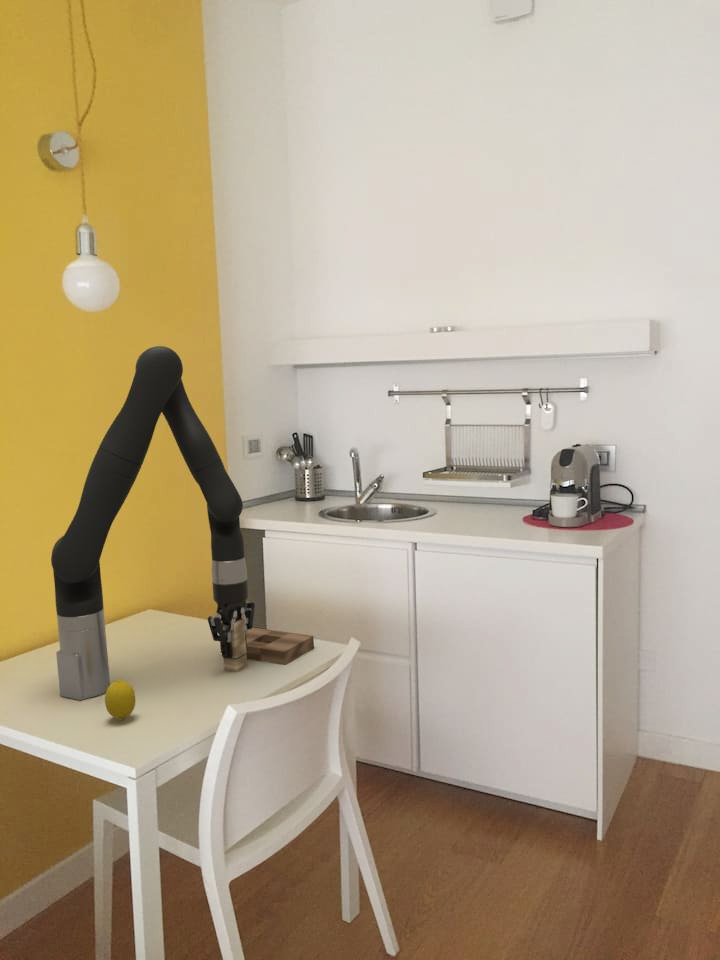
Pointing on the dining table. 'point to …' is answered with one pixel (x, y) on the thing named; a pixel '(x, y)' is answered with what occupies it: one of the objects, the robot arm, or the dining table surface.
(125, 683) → the lemon
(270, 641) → the walnut board
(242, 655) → the beech peg
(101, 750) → the dining table surface
